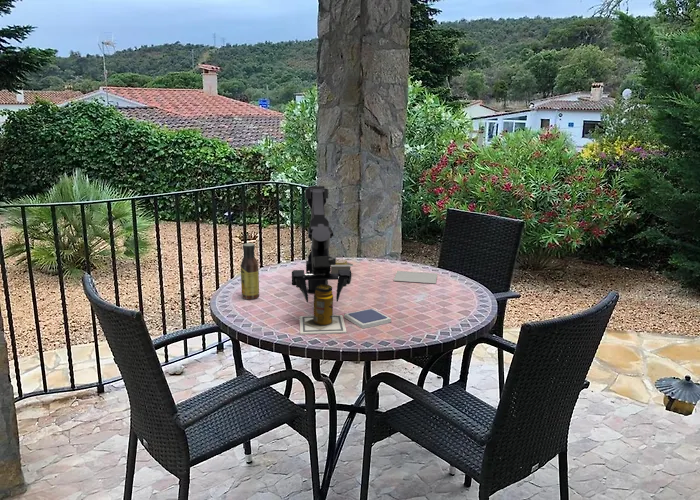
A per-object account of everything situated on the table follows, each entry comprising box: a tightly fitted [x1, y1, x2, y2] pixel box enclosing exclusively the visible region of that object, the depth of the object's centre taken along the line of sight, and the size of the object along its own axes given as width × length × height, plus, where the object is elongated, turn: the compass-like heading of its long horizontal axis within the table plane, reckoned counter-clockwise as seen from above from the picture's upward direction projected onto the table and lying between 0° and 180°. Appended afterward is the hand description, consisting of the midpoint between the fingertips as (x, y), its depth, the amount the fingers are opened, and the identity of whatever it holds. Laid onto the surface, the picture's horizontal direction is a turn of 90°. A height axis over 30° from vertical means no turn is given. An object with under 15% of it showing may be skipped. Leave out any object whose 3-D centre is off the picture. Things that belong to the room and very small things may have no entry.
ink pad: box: [343, 308, 392, 330], centre depth 178 cm, size 11×11×2 cm
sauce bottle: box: [240, 242, 260, 300], centre depth 196 cm, size 6×6×20 cm
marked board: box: [299, 314, 347, 336], centre depth 173 cm, size 14×14×1 cm
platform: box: [330, 259, 354, 274], centre depth 226 cm, size 12×18×7 cm, turn 94°
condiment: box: [303, 284, 337, 330], centre depth 172 cm, size 7×8×12 cm
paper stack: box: [393, 270, 438, 284], centre depth 220 cm, size 23×25×1 cm
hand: (322, 301), depth 170 cm, fingers open, 9 cm apart
